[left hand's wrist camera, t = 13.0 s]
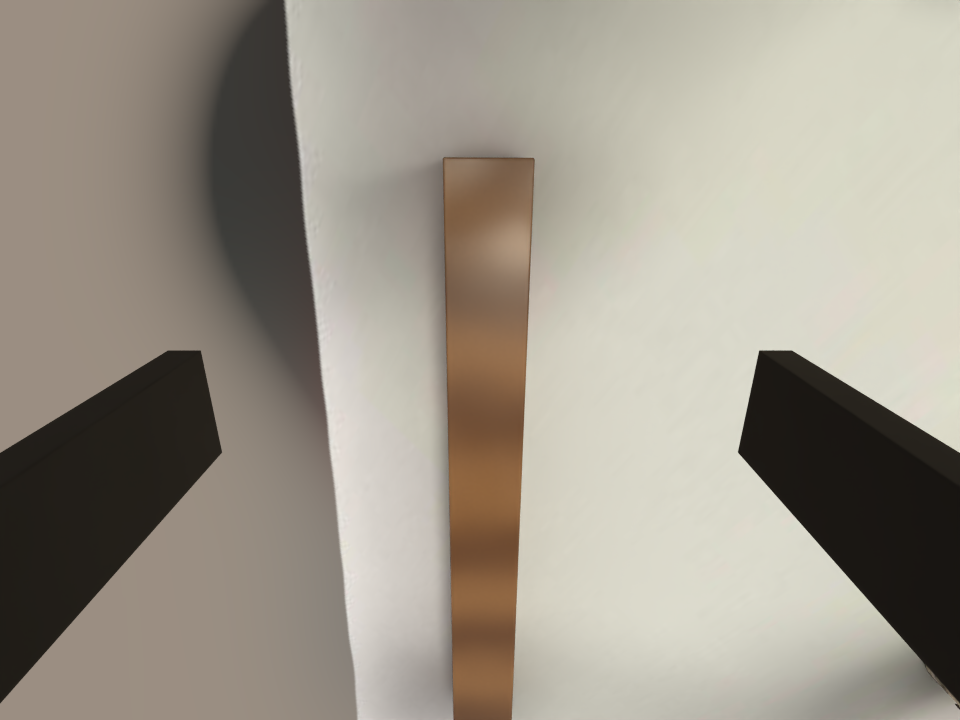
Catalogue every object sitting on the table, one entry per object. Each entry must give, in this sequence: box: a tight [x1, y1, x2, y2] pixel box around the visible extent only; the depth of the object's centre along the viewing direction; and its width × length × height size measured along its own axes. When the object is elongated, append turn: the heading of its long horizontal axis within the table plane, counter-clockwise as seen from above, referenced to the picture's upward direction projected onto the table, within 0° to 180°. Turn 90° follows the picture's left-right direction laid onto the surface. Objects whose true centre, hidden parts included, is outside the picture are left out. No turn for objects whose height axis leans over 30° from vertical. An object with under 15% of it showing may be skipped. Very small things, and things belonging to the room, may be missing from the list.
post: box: [443, 157, 535, 720], centre depth 41 cm, size 53×5×8 cm, turn 0°
